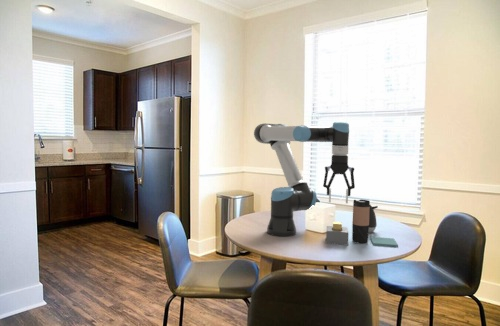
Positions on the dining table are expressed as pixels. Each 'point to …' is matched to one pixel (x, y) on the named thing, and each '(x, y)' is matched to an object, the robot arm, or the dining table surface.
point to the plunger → (337, 226)
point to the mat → (383, 241)
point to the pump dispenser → (372, 219)
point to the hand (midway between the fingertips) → (338, 202)
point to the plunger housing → (337, 236)
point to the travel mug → (360, 221)
